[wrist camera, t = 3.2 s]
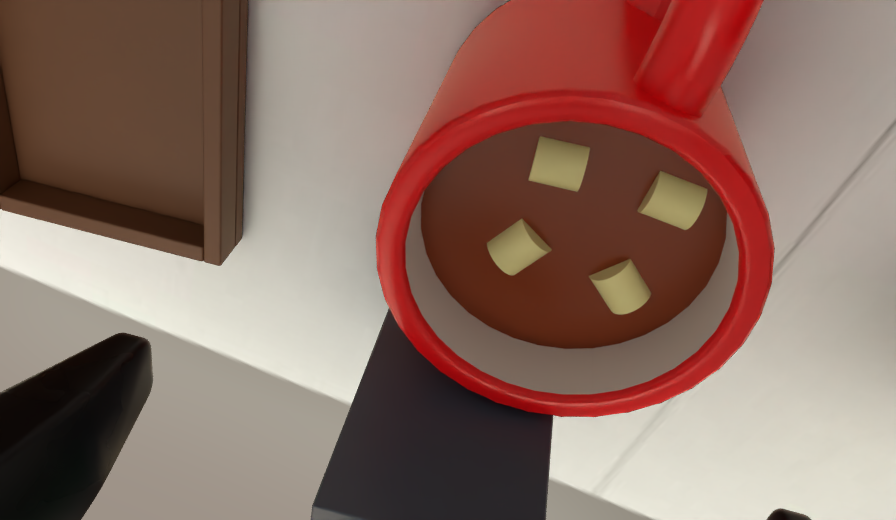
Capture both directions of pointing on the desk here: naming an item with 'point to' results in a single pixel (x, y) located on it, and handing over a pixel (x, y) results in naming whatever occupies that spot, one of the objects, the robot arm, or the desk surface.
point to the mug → (581, 208)
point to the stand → (432, 447)
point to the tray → (126, 119)
